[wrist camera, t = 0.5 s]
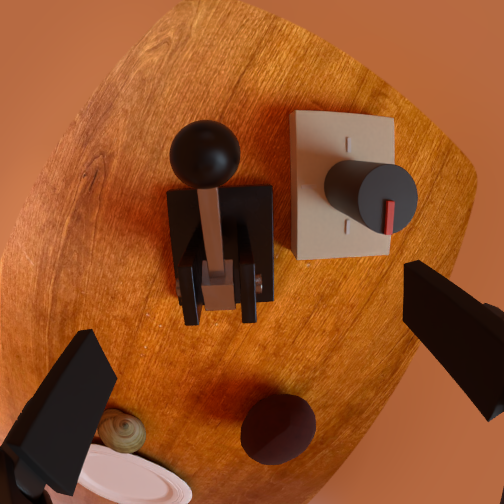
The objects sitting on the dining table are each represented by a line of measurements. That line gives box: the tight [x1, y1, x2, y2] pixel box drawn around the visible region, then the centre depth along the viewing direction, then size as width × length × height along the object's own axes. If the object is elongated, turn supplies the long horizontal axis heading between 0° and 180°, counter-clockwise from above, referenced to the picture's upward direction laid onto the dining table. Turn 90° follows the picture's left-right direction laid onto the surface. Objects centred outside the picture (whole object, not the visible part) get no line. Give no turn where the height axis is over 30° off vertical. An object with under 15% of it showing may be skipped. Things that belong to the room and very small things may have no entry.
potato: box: [240, 394, 316, 465], centre depth 34 cm, size 9×12×9 cm
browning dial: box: [324, 160, 418, 235], centre depth 23 cm, size 5×5×8 cm
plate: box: [78, 443, 192, 504], centre depth 44 cm, size 29×29×2 cm
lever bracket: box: [167, 184, 274, 326], centre depth 26 cm, size 12×10×12 cm
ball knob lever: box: [170, 120, 240, 311], centre depth 18 cm, size 13×4×4 cm, turn 2°
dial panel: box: [289, 110, 394, 260], centre depth 28 cm, size 14×10×3 cm
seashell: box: [97, 409, 146, 454], centre depth 37 cm, size 10×7×8 cm
